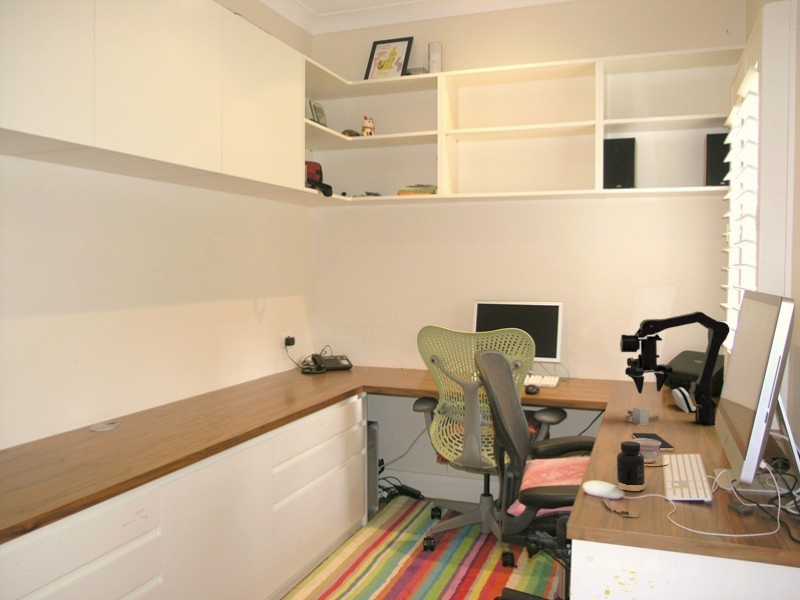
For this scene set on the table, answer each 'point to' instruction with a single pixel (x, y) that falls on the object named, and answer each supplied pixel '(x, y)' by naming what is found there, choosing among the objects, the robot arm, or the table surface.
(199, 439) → the table surface
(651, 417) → the pine board
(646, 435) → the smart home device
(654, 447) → the teacup
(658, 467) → the table surface
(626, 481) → the supplement bottle
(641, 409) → the marking gauge
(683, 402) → the white rounded piece
